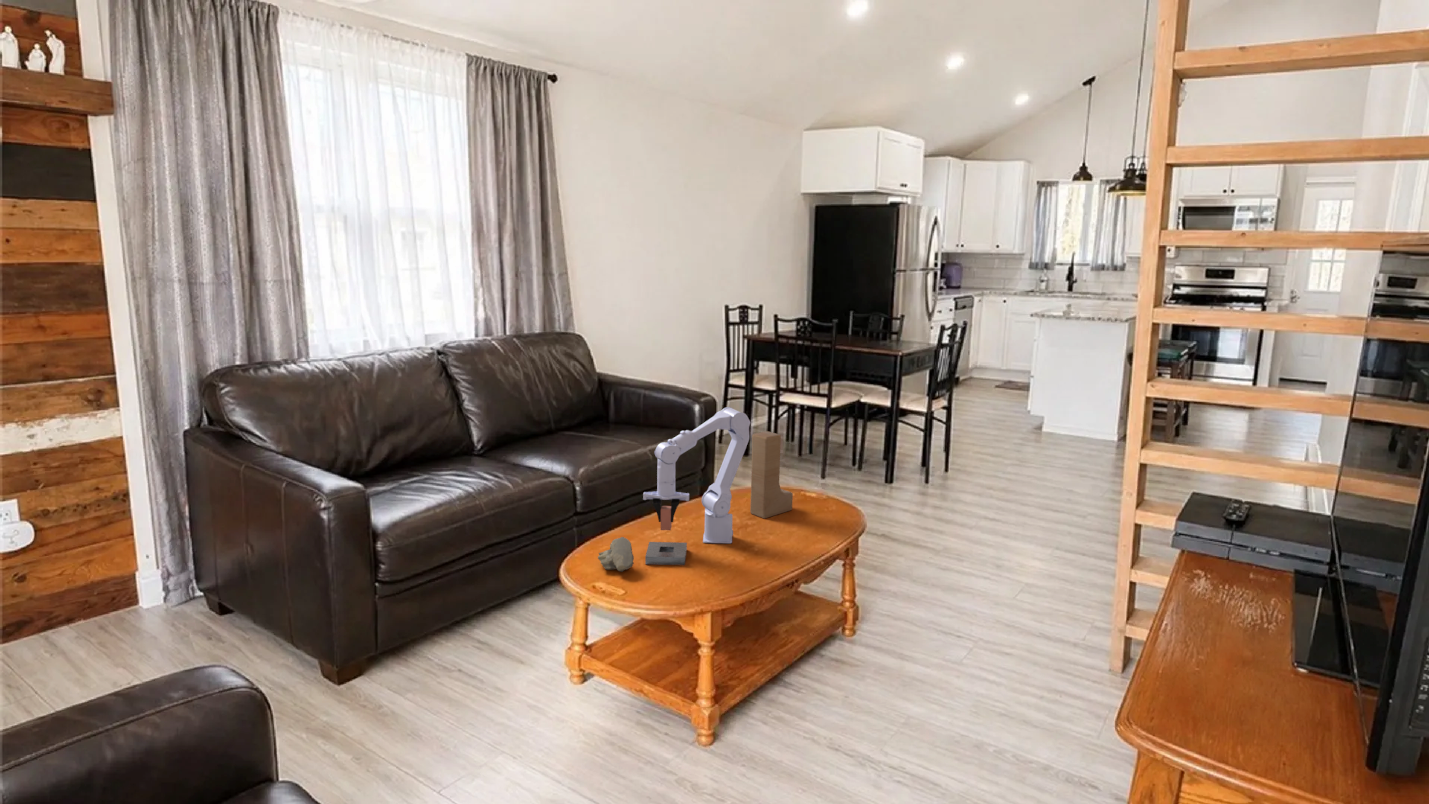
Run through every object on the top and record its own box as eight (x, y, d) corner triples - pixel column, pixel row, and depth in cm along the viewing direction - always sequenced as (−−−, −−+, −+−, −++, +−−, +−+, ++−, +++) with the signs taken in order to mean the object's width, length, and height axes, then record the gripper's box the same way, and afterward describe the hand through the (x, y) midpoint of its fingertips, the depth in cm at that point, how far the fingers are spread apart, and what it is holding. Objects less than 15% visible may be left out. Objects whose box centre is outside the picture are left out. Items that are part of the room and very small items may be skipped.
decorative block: (792, 510, 299) (795, 431, 293) (764, 519, 289) (766, 437, 283) (778, 505, 305) (780, 427, 299) (749, 513, 295) (751, 433, 289)
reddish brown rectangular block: (671, 526, 263) (671, 506, 261) (670, 530, 259) (670, 509, 258) (661, 526, 263) (661, 505, 261) (660, 530, 260) (660, 509, 258)
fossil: (623, 571, 252) (593, 561, 250) (636, 539, 253) (606, 529, 250) (630, 583, 239) (598, 572, 236) (643, 549, 239) (612, 538, 237)
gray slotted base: (686, 550, 260) (686, 542, 260) (684, 565, 249) (684, 557, 248) (649, 549, 260) (649, 541, 260) (645, 564, 249) (645, 556, 248)
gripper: (642, 483, 254) (641, 524, 257) (688, 484, 253) (687, 526, 256) (644, 476, 261) (644, 517, 264) (689, 478, 260) (689, 518, 263)
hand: (666, 521), depth 260 cm, fingers closed on reddish brown rectangular block, 3 cm apart
